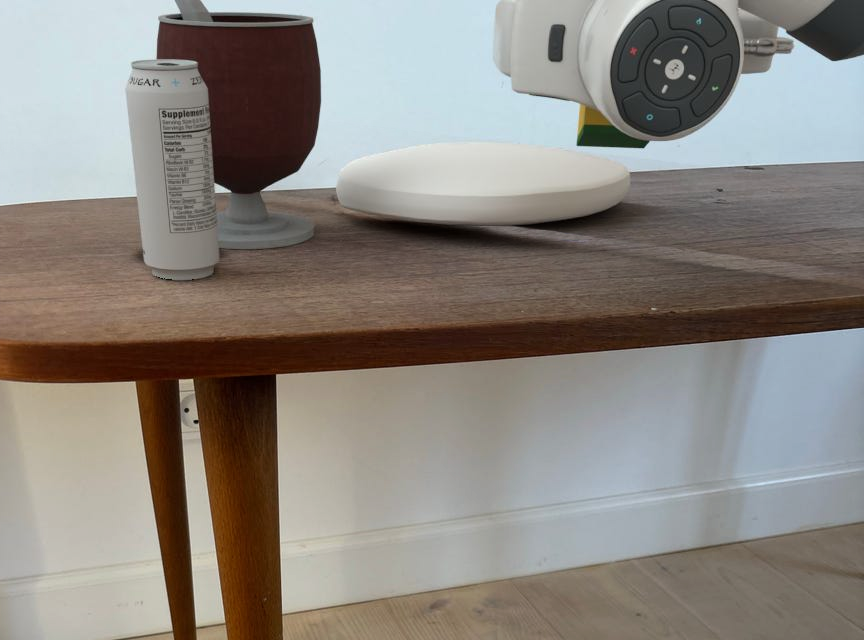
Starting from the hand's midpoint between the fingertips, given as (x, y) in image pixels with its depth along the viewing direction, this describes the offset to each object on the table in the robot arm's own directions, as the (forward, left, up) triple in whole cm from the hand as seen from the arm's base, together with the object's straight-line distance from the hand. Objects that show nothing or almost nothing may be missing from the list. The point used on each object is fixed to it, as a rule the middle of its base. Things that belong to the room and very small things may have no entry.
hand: (623, 29), depth 82 cm
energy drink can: (+27, +23, -17) cm, 40 cm away
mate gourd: (+31, +9, -17) cm, 37 cm away
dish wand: (-1, +4, -7) cm, 8 cm away
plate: (+15, -9, -17) cm, 25 cm away
